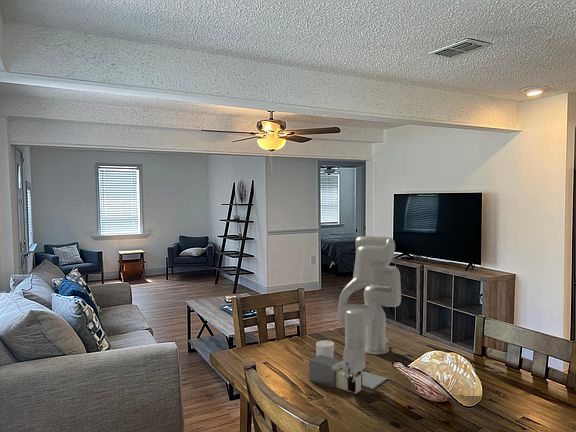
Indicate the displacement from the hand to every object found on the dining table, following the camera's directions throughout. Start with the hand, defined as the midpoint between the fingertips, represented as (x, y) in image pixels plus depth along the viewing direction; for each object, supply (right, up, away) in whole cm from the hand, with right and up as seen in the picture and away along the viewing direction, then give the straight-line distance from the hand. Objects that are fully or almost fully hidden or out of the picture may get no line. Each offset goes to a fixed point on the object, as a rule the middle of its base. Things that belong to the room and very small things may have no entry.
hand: (355, 388), depth 168 cm
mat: (+5, 0, +10) cm, 11 cm away
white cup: (-9, 0, +25) cm, 27 cm away
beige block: (-3, -1, +3) cm, 5 cm away
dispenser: (-10, -1, +9) cm, 13 cm away
